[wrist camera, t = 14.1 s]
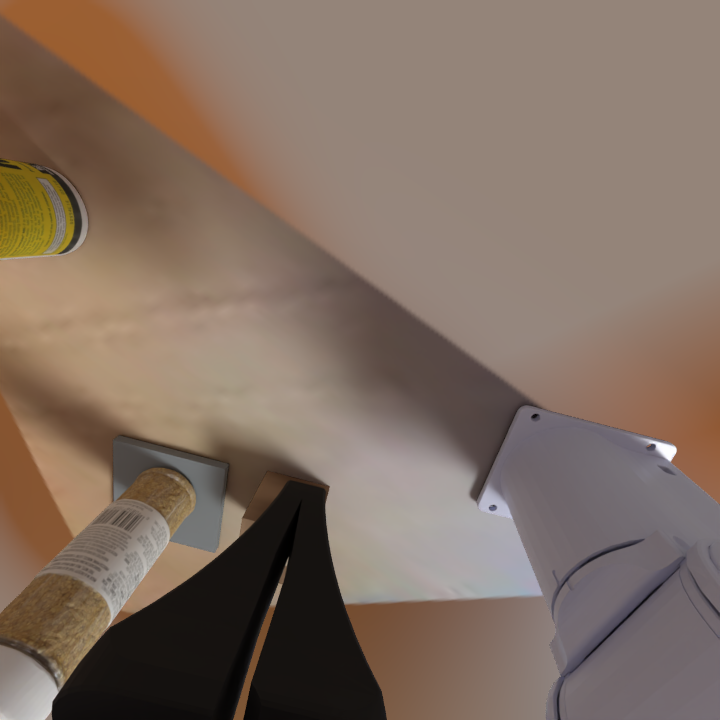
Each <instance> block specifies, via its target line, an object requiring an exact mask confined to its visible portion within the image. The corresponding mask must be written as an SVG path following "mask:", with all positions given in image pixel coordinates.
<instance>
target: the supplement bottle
mask: <svg viewBox="0 0 720 720" xmlns="http://www.w3.org/2000/svg"><path fill="white" fill-rule="evenodd" d="M87 231H88V216H87V211H86V208H85V205H84V203H83V201H82V199H81V197H80V195H79V193H78V192H77V190H76V189H75V188H74V186H73V185H72V184H71V183H70V182H69V181H68V180H67V179H66V178H65V177H64V176H62V175H61V174H59V173H58V172H56V171H54V170H52V169H50V168H47V167H44V166H40V165H36V164H31V163H25V162H18V161H13V160H7V159H1V158H0V260H9V259H22V258H35V257H51V256H60V255H65V254H69V253H71V252H73V251H75V250H76V249H77V248H79V247H80V246H81V245H82V243H83V242H84V240H85V238H86V235H87Z"/></svg>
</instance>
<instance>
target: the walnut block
mask: <svg viewBox="0 0 720 720" xmlns="http://www.w3.org/2000/svg"><path fill="white" fill-rule="evenodd" d="M289 480H293V481H297V482H301V483H305V484H309V485H313V486H317V487H322V488H324V489H325V490H326V497H325V503H326V499H327V495H328V491H329V486H325V485H321V484H317V483H313V482H310V481H306V480H302V479H298V478H294V477H290V476H286V475H282V474H278V473H275V472H271V471H267V472H266V474H265V476H264V478H263V480H262V482H261V484H260V486H259V487H258V489H257V491H256V493H255V495H254V497H253V499H252V501H251V502H250V504H249V506H248V508H247V510H246V512H245V514H244V516H243V517H242V523H241V530H240V536H241V535H242V534H243V533H244V532H245V531H246V530H247V529H248V528H249V527H250V526H251V525H252V524H253V523H254V522H255V521H256V520H257V519H258V518H259V517H260V516H261V514H262V513H263V512H264V511H265V510H266V509H267V508H268V507H269V505H270V504H271V503H272V502H273V500H274V499H275V498H276V497H277V495H278V494H279V493H280V491H281V490H282V489H283V487H284V486H285V484H286V482H287V481H289ZM240 536H239V537H240ZM288 558H289V557H288ZM287 563H288V560H287V562H286V565H285V568H284V570H283V573H282V575H281V578H280V580H279V583H280V584H283V582H284V578H285V574H286V568H287Z"/></svg>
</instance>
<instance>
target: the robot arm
mask: <svg viewBox="0 0 720 720" xmlns="http://www.w3.org/2000/svg"><path fill="white" fill-rule="evenodd" d="M533 414H538V416H537V417H536V418H531V416H532V415H533ZM649 444H651V446H650V447H647V446H648V445H649ZM646 447H647V448H646ZM675 453H676V447H675V446H674V445H673V444H672V443H670V442H668V441H664V440H660V439H656V438H652V437H648V436H644V435H640V434H637V433H633V432H629V431H625V430H621V429H618V428H614V427H610V426H606V425H602V424H598V423H594V422H590V421H586V420H583V419H579V418H575V417H571V416H567V415H563V414H560V413H556V412H552V411H548V410H544V409H540V408H536V407H533V406H528V405H525V406H522V407H520V408H519V409H518V411H517V413H516V415H515V417H514V420H513V422H512V424H511V426H510V428H509V431H508V433H507V435H506V437H505V440H504V442H503V444H502V446H501V448H500V451H499V453H498V455H497V457H496V460H495V462H494V464H493V466H492V468H491V471H490V473H489V475H488V477H487V480H486V482H485V484H484V486H483V488H482V491H481V493H480V495H479V497H478V499H477V506H478V508H479V509H480V510H481V511H484V512H487V513H491V514H495V515H499V516H503V517H507V518H510V519H513V520H514V523H515V525H516V528H517V530H518V533H519V535H520V538H521V541H522V543H523V546H524V548H525V551H526V553H527V556H528V558H529V561H530V563H531V566H532V568H533V571H534V573H535V576H536V578H537V581H538V583H539V586H540V588H541V591H542V593H543V596H544V598H545V600H546V603H547V606H548V608H549V610H550V613H551V616H552V618H553V620H554V623H555V628H556V633H555V637H554V639H553V640H552V642H551V643H550V648H551V650H552V653H553V656H554V659H555V661H556V664H557V667H558V670H559V672H560V675H561V677H559V678H558V679H557V680H556V681H555V682H554V683H553V685H552V687H551V689H550V691H549V694H548V698H547V703H546V720H720V504H719V503H717V502H716V501H715V500H714V499H713V498H712V497H710V496H709V495H708V494H707V493H706V492H705V491H703V490H702V489H701V488H700V487H699V486H697V485H696V484H695V483H694V482H693V481H692V480H691V479H689V478H688V477H687V476H686V475H685V474H684V473H682V472H681V471H680V470H679V469H678V468H677V467H675V466H674V465H673V464H672V463H671V462H670V461H671V459H672V458H673V456H674V455H675ZM325 497H326V490H325V489H324V488H322V487H317V486H313V485H309V484H305V483H301V482H297V481H293V480H289V481H287V482H286V484H285V486H284V487H283V489H282V490H281V491H280V493H279V494H278V495H277V497H276V498H275V499H274V500H273V502H272V503H271V504H270V505H269V507H268V508H267V509H266V510H265V511H264V512H263V513H262V514H261V516H260V517H259V518H258V519H257V520H256V521H255V522H254V523H253V524H252V525H251V526H250V527H249V528H248V529H247V530H246V531H245V532H244V533H243V534H242V535H241V536H240V537H239V538H238V539H237V540H236V541H235V542H234V543H233V544H232V545H230V546H229V547H228V548H227V549H226V550H225V551H224V552H222V553H221V554H220V555H219V556H218V557H217V558H215V559H214V560H213V561H212V562H210V563H209V564H208V565H206V566H205V567H204V568H203V569H201V570H200V571H199V572H197V573H196V574H195V575H193V576H192V577H191V578H189V579H188V580H187V581H185V582H184V583H182V584H181V585H179V586H178V587H176V588H175V589H173V590H172V591H170V592H169V593H167V594H166V595H164V596H163V597H161V598H160V599H158V600H157V601H155V602H153V603H152V604H150V605H149V606H147V607H145V608H143V609H142V610H140V611H138V612H136V613H135V614H133V615H131V616H129V617H128V618H126V619H124V620H123V621H121V622H119V623H117V624H116V625H114V626H112V627H110V628H109V629H108V630H107V631H106V632H105V634H104V635H103V636H102V637H101V638H100V639H99V640H98V641H97V642H96V643H95V645H94V646H93V647H92V648H91V649H90V650H89V652H88V653H87V654H86V655H85V656H84V657H83V659H82V660H81V661H80V662H79V664H78V665H77V667H76V668H75V669H74V671H73V672H72V674H71V675H70V677H69V678H68V680H67V681H66V683H65V684H64V685H63V687H62V688H61V690H60V691H59V693H58V694H57V696H56V697H55V699H54V700H53V702H52V720H233V718H234V715H235V711H236V707H237V705H238V701H239V698H240V695H241V691H242V688H243V685H244V682H245V678H246V675H247V672H248V668H249V665H250V662H251V658H252V655H253V652H254V648H255V645H256V642H257V638H258V636H259V633H260V630H261V627H262V624H263V621H264V619H265V616H266V614H267V611H268V609H269V606H270V604H271V601H272V598H273V596H274V593H275V591H276V588H277V586H278V583H279V580H280V578H281V575H282V573H283V570H284V568H285V565H286V562H287V560H288V563H287V568H286V574H285V578H284V582H283V585H282V588H281V591H280V595H279V598H278V601H277V604H276V607H275V611H274V614H273V617H272V620H271V623H270V627H269V630H268V633H267V636H266V639H265V642H264V645H263V648H262V651H261V654H260V657H259V661H258V664H257V667H256V670H255V673H254V676H253V679H252V682H251V686H250V691H249V696H248V700H247V705H246V710H245V715H244V719H243V720H387V718H386V711H385V706H384V701H383V696H382V691H381V689H380V687H379V685H378V683H377V681H376V679H375V677H374V675H373V673H372V671H371V669H370V667H369V665H368V663H367V661H366V658H365V656H364V654H363V652H362V649H361V647H360V645H359V642H358V640H357V638H356V635H355V633H354V630H353V627H352V624H351V622H350V620H349V617H348V614H347V611H346V608H345V605H344V602H343V599H342V596H341V593H340V589H339V586H338V582H337V579H336V575H335V571H334V567H333V562H332V557H331V552H330V547H329V541H328V533H327V526H326V514H325ZM490 505H495V506H493V507H489V506H490ZM288 557H289V558H288Z"/></svg>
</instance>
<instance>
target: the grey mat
mask: <svg viewBox="0 0 720 720" xmlns="http://www.w3.org/2000/svg"><path fill="white" fill-rule="evenodd" d="M151 468H166V469H170V470H174V471H176V472H178V473H180V474H181V475H182V476H183V477H185V478H186V479H187V480H188V481H189V483H190V484H191V485H192V486H193V488H194V490H195V494H196V504H195V508H194V510H193V511H192V512H191V513H190V514H189V515H188V516H187V517H186V518H185V519H184V521H183V522H182V523H181V525H180V526H179V527H178V529H177V530H176V532H175V533H174V534H173V536H172V537H171V539H170V540H169V541H171V542H175V543H179V544H183V545H186V546H190V547H194V548H198V549H202V550H205V551H209V552H213V553H215V552H216V550H217V548H218V545H219V537H220V530H221V522H222V514H223V507H224V499H225V491H226V483H227V476H228V468H229V464H227V463H223V462H220V461H216V460H212V459H208V458H204V457H200V456H197V455H193V454H189V453H185V452H181V451H178V450H174V449H170V448H166V447H162V446H158V445H155V444H151V443H147V442H143V441H139V440H135V439H132V438H128V437H124V436H120V435H119V436H118V437H116V438H115V439H114V440H113V490H114V502H115V501H116V500H117V499H118V498H119V497H120V496H121V495H122V494H123V493H124V492H125V491H126V490H127V489H128V488H129V487H130V486H131V485H132V484H133V483H134V482H135V480H136V478H137V477H138V476H139V475H140V474H141V473H142V472H144V471H146V470H148V469H151Z"/></svg>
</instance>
